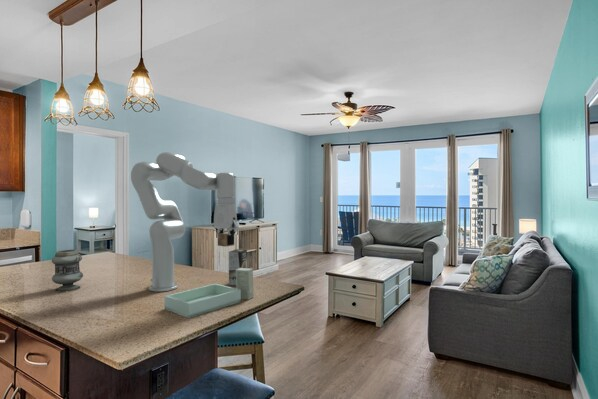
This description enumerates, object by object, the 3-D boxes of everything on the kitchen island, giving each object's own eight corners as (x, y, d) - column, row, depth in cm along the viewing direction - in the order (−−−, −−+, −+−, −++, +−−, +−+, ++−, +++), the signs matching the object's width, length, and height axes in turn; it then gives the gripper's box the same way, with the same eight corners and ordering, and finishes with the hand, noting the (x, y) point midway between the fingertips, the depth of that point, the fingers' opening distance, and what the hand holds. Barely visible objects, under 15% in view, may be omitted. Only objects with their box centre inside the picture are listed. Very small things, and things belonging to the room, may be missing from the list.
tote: (164, 309, 135) (164, 295, 135) (215, 295, 153) (215, 283, 153) (189, 318, 125) (189, 303, 125) (240, 301, 143) (240, 289, 143)
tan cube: (217, 245, 151) (217, 233, 151) (226, 244, 155) (226, 232, 155) (225, 246, 148) (225, 234, 148) (234, 245, 152) (234, 233, 152)
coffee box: (241, 285, 169) (240, 252, 169) (228, 285, 170) (228, 251, 170) (247, 281, 178) (247, 249, 178) (235, 280, 179) (235, 248, 179)
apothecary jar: (48, 289, 164) (48, 250, 163) (78, 284, 172) (78, 247, 172) (55, 294, 155) (55, 253, 155) (86, 288, 164) (86, 250, 164)
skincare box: (253, 297, 150) (253, 268, 150) (249, 299, 146) (248, 270, 146) (240, 295, 152) (240, 267, 152) (235, 298, 148) (235, 269, 148)
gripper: (205, 201, 154) (206, 243, 154) (233, 202, 144) (233, 246, 144) (219, 201, 160) (219, 241, 160) (246, 201, 150) (246, 244, 150)
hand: (225, 243), depth 152 cm, fingers closed on tan cube, 4 cm apart
